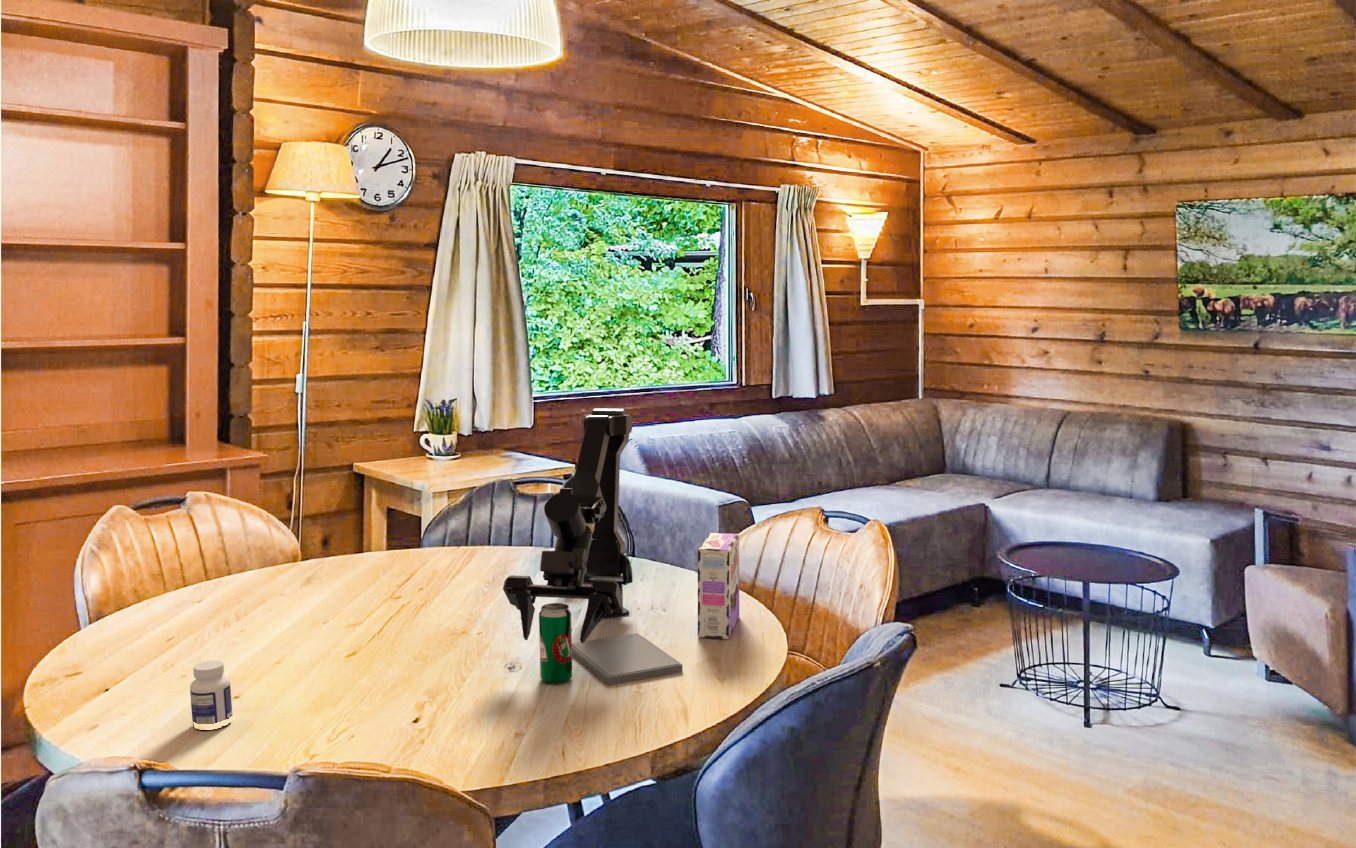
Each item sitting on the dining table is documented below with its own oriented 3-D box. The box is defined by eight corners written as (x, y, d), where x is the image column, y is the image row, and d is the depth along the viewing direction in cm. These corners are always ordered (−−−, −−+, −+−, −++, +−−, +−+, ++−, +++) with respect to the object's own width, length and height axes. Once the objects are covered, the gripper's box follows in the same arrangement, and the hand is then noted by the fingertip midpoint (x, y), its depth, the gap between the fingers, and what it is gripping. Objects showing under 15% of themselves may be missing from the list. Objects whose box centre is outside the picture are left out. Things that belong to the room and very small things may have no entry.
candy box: (729, 640, 186) (729, 549, 184) (696, 638, 187) (696, 548, 185) (740, 617, 199) (740, 532, 197) (709, 615, 200) (709, 531, 198)
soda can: (541, 674, 169) (539, 602, 168) (572, 673, 170) (571, 601, 168) (539, 686, 164) (538, 612, 163) (572, 685, 165) (570, 611, 163)
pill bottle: (219, 714, 154) (215, 656, 153) (240, 722, 151) (236, 663, 150) (184, 726, 150) (181, 666, 149) (205, 735, 147) (201, 674, 146)
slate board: (568, 650, 181) (568, 643, 180) (637, 639, 186) (637, 632, 186) (608, 685, 165) (608, 677, 164) (682, 671, 170) (682, 663, 170)
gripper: (505, 527, 170) (483, 613, 160) (617, 530, 167) (601, 619, 157) (521, 562, 179) (501, 646, 169) (628, 566, 175) (614, 652, 166)
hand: (553, 640), depth 165 cm, fingers open, 9 cm apart
